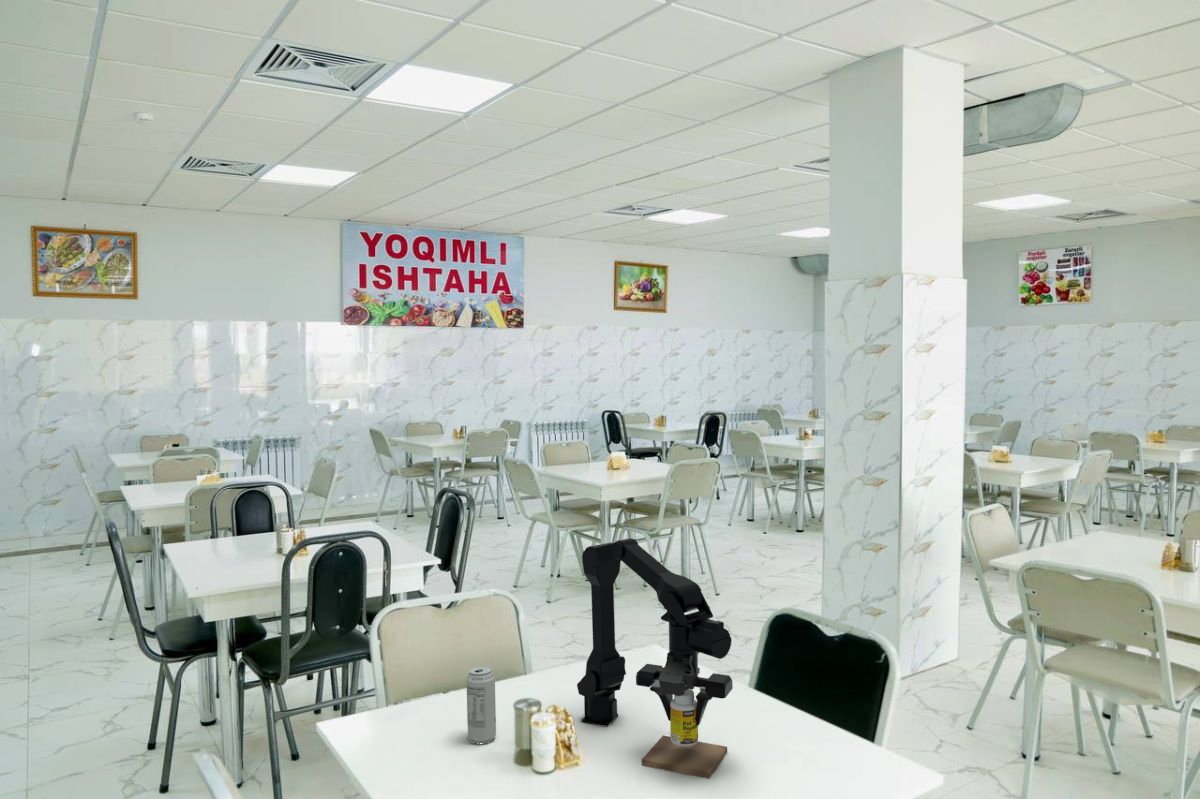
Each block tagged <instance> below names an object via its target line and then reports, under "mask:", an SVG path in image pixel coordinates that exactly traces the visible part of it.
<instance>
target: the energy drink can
mask: <svg viewBox="0 0 1200 799" xmlns="http://www.w3.org/2000/svg"><path fill="white" fill-rule="evenodd" d="M468 672H469V673H468V674H467V676H466V712H467V715H466V720H467V738H468V739H469V740H470V742H471V741H472V742H473V744H474V743H479V744H478V745H481V744H480V743H486V744H489V743H488V742H490V741H491V742H493V741H494V738H495V737H497V736H496V735H497V718H496V717H497V716H496V713H497V710H496V707H497V706H496V675H495V674H494V673H493V668H492V667H491V666H484V665H480V666H474V667H471V668H470V669H469V671H468ZM492 740H493V741H492ZM472 742H471V743H472ZM491 742H490V743H491Z"/></svg>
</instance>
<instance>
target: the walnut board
mask: <svg viewBox="0 0 1200 799" xmlns="http://www.w3.org/2000/svg"><path fill="white" fill-rule="evenodd" d="M727 753H728V746H725V745H720V744H714V743H708V742H702V741H698V742H697V743H696V744H695V745H693V746H690V747H681V746H677V745H675V744H673V743H672V742H671V736H669V735H663V734H662V736H661V737H660V738H659V739H658V740H657V741H656V743H654V745H653V746H652V747H651V748H650V749H649V750H648V752H647V753H646V754H645V755H644V756H643V757H642V758H641V766H642V767H643V766H644V767H648V768H654V769H658V770H663V769H664V771H668V770H669V772H674V771H675V772H674V773H678V772H679V774H683V773H684V775H688V774H689V775H688V776H695V777H700V778H704V777H705V778H706V779H709V778H710V779H711V777H712V776H713V774H714V773H715V771H716V770H717V769H718V767H719V766H720V764H721V763H722V762H723V760H724V758H725V757H726V755H727Z"/></svg>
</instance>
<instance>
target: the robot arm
mask: <svg viewBox="0 0 1200 799" xmlns="http://www.w3.org/2000/svg"><path fill="white" fill-rule="evenodd" d="M581 561H582V569H583V574H584V576H585V578H586V579H587V580H588V582H589V583H590V588H591V591H590V592H591V593H590V594H591V620H592V622H591V624H592V650H591V652H590V654H589V656H588V659H587V660H586V665H585V666H586V667H585V675H584V676H582V678H581V679H580V681H578V683H577V684H576V686H577V687H576V688H577V692H578V695H579V696H583V698H584V699H583V700H584V702H583V704H584V705H583V706H584V708H583V709H584V716H582V718H581V723H587V724H593V725H598V726H603V727H608V726H609V725H610V724H612V722H614V721H615V720H616V719H617V718H618V717H619V713H618V700H617V698H616V693H615V692H616V691H621V688H622V684H623V682H624V680H625V676H626V675H627V671H626V665H625V664H626V658H625V657H624V656H622V655H621V654H619V652H618V650H617V649H616V631H615V630H616V627H615V625H616V624H615V623H616V622H615V592H614V589H615V586H614V584H615V583H616V580H617V578H618V576H619V573H620V571H621V563H624V564H625V565H626V567H628V568H630V569H631V571H632V572H634V573H635V574H636V575H637V576H638V577H639V578H640V579H642V580H643V581H644V582H645V583H646V584H648V585H649V586H650V588H652V589H653V590H654V591H655V592H656V597H657V601H658V602H659V603H660V604H661V606H662V607H663V608H664V609H665V610H666V612H665V613H664V614H663V615H661V616H660V619H661V620H662V621H664V622H668V652H667V654H666V655H667V656H666V661H665V666H664V667H663V665H658V664H653V663H646V664H644V666H642V667H641V668H640V669H639V670H638V671H637V672H636V675H635V685H636V686H637V687H638V686H639V687H647V688H649V690H650V692H653V693H655V694H656V695H657V696H658V697H659V699H660V701H661V703H662V707H663V709H664V712H665V715H666V716H667V720H668V721H670V703H671V701H672V700H673V699H674V695H676V696H682V695H683V694H684V693H685V690H688V689H690V690H692V691H694V689H695V688H699V692H698V693H697V695H696V696H695V700H696V701H697V712H696V725H697V726H698V727H699V725H700V724H701V722H702V719H703V717H704V713H705V711H706V709H707V708H706V707H707V705H708V703H709V701H711V700H712V699H713V698H716V699H725V698H727V697H728V695H729V694H730V693H731V692H732V691H733V679H732V677H731V676H730V675H729V674H721V673H716V672H715V673H714V672H713V673H712V674H710V675H709V677H708V678H707V677H700V676H699V674H700V672H701V671H700V669H701V668H700V667H699V659H698V658H699V654H700V653H701V654H703V655H706V656H709V657H712V658H716V659H723V658H725V657H726V656H727V655H728V653H729V652H730V650H731V646H732V637H731V634H730V632H729V630H728V629H727V628H725V623H724V622H723V621H721V620H715V619H714V620H713V619H712V618H714V614H713V612H712V610H711V607H710V606H709V604H708V602H707V599H706V598H705V596H704V594H703V592H702V588H701V586H700V585H699V584H698V583H697V582H695V581H693V580H692V579H690V578H688V577H687V576H684V575H680V574H676V573H674V572H672V571H671V570H669V569H668V568H667V567H665V566H664V565H663V564H662V563H660V562H659V560H658V559H656V558H655V557H653V556H652V555H651V554H650V553H649V552H648V551H646V550H645V549H644V547H642V546H640V545H639V543H638V541H637V540H636V539H634V538H631V537H629V538H624V539H619V540H618V539H617V540H616V541H615V542H607V543H606V542H605V543H601V544H595V545H590V546H587V547H586V548H585V549H584V551H582V555H581ZM695 610H698V611H695ZM692 611H694V612H692ZM688 612H690V613H688ZM685 613H687V614H685Z"/></svg>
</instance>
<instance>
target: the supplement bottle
mask: <svg viewBox="0 0 1200 799" xmlns="http://www.w3.org/2000/svg"><path fill="white" fill-rule="evenodd" d="M696 712H697V699H695V692H694V690H692V689H688V690H685V693H684V694H683V695H682V696H676V695H673V700H672V701H671V703H670V724H669V725H670V732H669V733H670V737H671V742H672V743H673V744H675V745H677V746H681V747H690V746H693V745H695V744H696V743H697V742H699V726H697V725H696Z"/></svg>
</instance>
